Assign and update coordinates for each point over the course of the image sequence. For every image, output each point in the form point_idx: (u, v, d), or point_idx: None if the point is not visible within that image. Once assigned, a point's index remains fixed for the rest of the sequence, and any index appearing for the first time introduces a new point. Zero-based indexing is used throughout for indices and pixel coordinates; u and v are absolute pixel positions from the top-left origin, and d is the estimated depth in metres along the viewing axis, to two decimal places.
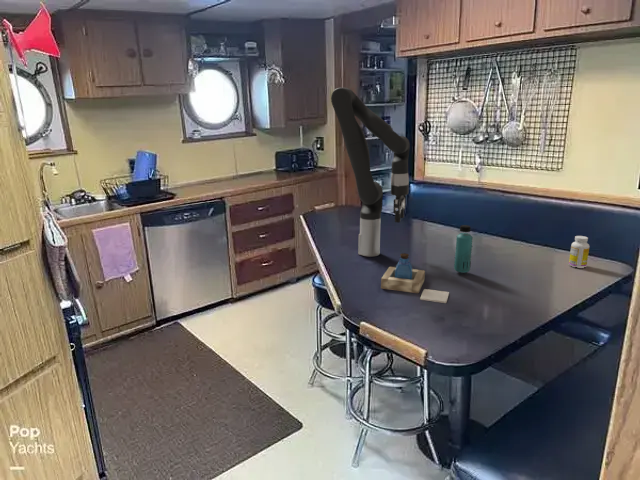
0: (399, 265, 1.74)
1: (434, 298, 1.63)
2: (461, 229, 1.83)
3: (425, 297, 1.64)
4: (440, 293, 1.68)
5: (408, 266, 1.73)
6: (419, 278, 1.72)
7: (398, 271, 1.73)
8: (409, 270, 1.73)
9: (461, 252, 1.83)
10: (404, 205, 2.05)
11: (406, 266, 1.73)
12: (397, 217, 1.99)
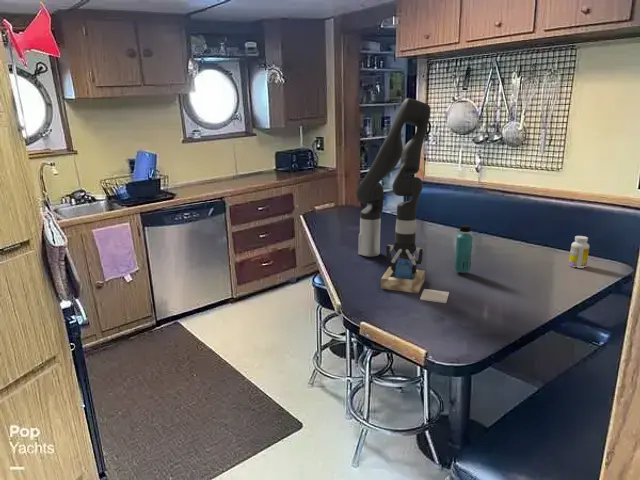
0: (399, 265, 1.74)
1: (434, 298, 1.63)
2: (461, 229, 1.83)
3: (425, 297, 1.64)
4: (440, 293, 1.68)
5: (408, 266, 1.73)
6: (419, 278, 1.72)
7: (398, 271, 1.73)
8: (409, 270, 1.73)
9: (461, 252, 1.83)
10: None
11: (406, 266, 1.73)
12: (416, 267, 1.74)
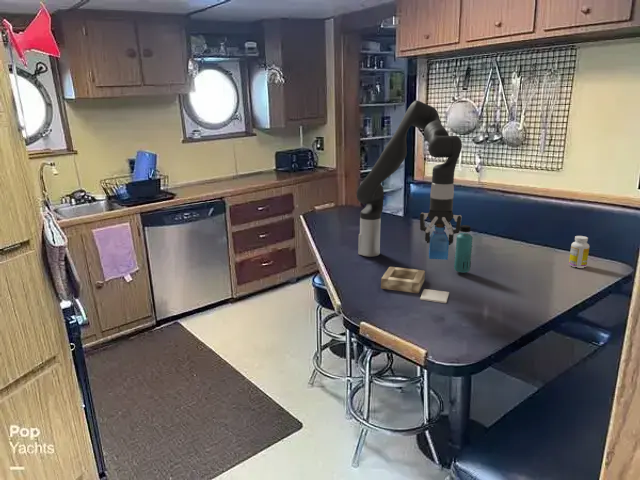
0: (434, 235, 1.58)
1: (434, 298, 1.63)
2: (461, 229, 1.83)
3: (425, 297, 1.64)
4: (440, 293, 1.68)
5: (444, 235, 1.57)
6: (419, 278, 1.72)
7: (433, 241, 1.58)
8: (446, 240, 1.57)
9: (461, 252, 1.83)
10: None
11: (442, 235, 1.57)
12: None
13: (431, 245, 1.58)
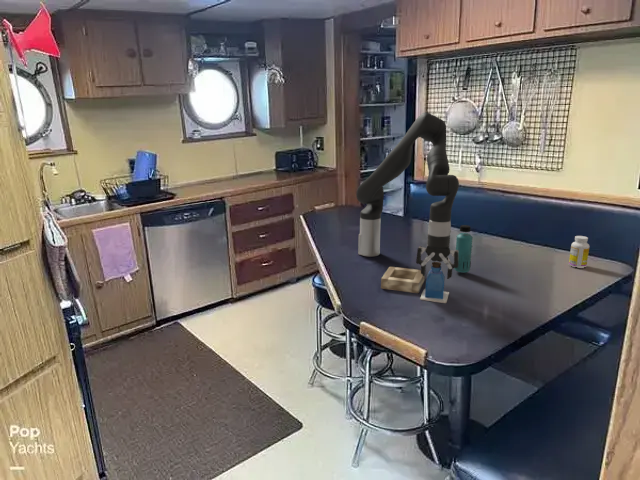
0: (430, 274, 1.62)
1: (434, 298, 1.63)
2: (461, 229, 1.83)
3: (425, 297, 1.64)
4: None
5: (440, 276, 1.61)
6: (419, 278, 1.72)
7: (429, 281, 1.62)
8: (441, 280, 1.61)
9: (461, 252, 1.83)
10: None
11: (438, 276, 1.61)
12: (451, 272, 1.62)
13: (427, 284, 1.63)
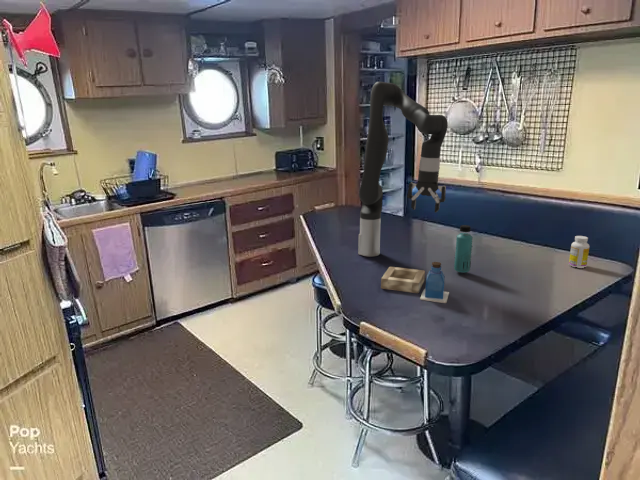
0: (430, 274, 1.62)
1: (434, 298, 1.63)
2: (461, 229, 1.83)
3: (425, 297, 1.64)
4: None
5: (440, 276, 1.61)
6: (419, 278, 1.72)
7: (429, 281, 1.62)
8: (441, 280, 1.61)
9: (461, 252, 1.83)
10: None
11: (438, 276, 1.61)
12: None
13: (427, 284, 1.63)
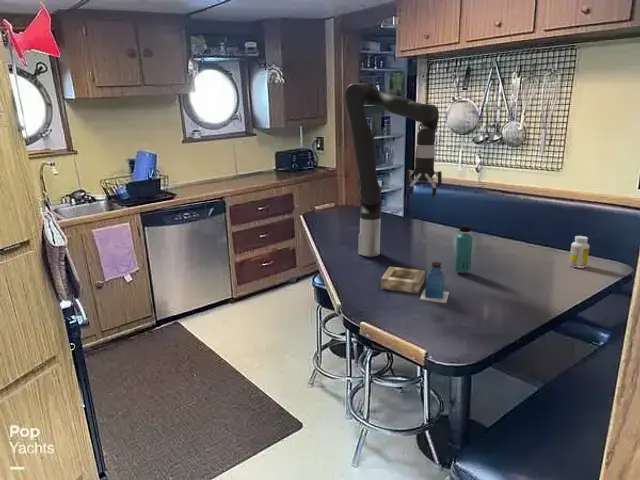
0: (430, 274, 1.62)
1: (434, 298, 1.63)
2: (461, 229, 1.83)
3: (425, 297, 1.64)
4: None
5: (440, 276, 1.61)
6: (419, 278, 1.72)
7: (429, 281, 1.62)
8: (441, 280, 1.61)
9: (461, 252, 1.83)
10: None
11: (438, 276, 1.61)
12: None
13: (427, 284, 1.63)
